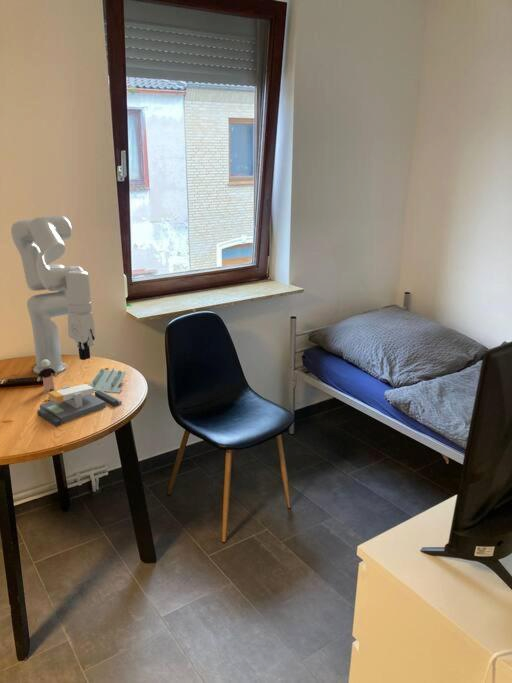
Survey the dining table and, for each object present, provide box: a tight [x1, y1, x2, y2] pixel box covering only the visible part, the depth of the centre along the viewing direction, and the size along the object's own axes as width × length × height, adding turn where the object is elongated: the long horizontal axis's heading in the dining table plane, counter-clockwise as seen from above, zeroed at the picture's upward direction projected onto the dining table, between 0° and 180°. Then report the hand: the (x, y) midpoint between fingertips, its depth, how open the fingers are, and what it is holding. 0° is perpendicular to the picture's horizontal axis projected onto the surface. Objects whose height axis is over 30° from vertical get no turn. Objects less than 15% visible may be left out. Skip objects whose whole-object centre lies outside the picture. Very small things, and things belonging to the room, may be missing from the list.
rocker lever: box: [48, 383, 95, 403], centre depth 187 cm, size 6×14×2 cm, turn 138°
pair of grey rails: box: [37, 391, 123, 428], centre depth 188 cm, size 13×25×2 cm, turn 138°
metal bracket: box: [88, 367, 127, 394], centre depth 208 cm, size 14×6×15 cm
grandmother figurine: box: [36, 359, 58, 394], centre depth 199 cm, size 8×4×13 cm, turn 148°
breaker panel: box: [39, 385, 107, 425], centre depth 188 cm, size 14×17×7 cm
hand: (85, 358), depth 187 cm, fingers closed
